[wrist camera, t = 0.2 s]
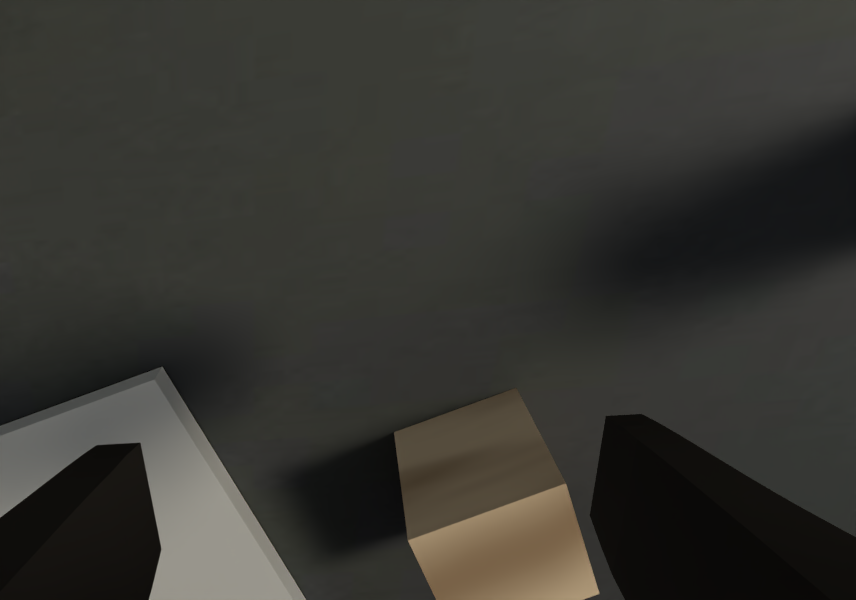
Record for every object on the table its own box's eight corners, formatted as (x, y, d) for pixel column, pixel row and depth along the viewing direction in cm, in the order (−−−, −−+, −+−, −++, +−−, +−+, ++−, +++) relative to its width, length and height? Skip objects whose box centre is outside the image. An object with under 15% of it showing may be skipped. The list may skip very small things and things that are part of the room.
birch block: (546, 482, 22) (599, 593, 17) (434, 522, 22) (457, 644, 17) (515, 386, 20) (565, 483, 16) (393, 430, 20) (407, 540, 16)
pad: (315, 614, 23) (314, 633, 22) (30, 717, 23) (20, 739, 22) (162, 366, 18) (154, 379, 17) (-198, 498, 18) (-221, 516, 17)
